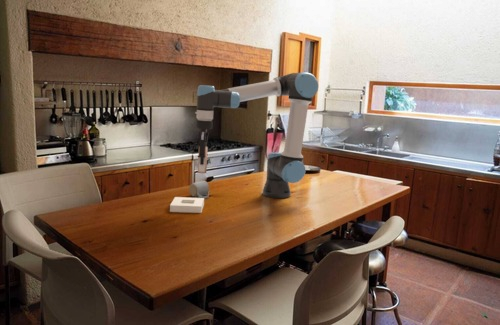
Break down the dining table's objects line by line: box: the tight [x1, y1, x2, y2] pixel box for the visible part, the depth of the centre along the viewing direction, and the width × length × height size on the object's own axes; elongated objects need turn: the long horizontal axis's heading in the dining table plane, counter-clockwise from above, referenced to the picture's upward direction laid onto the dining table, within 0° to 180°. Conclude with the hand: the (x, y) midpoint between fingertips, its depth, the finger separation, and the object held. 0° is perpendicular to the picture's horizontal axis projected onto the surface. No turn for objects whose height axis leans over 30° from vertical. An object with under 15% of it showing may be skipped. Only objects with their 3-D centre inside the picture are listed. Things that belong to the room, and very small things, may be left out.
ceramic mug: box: [188, 180, 210, 200], centre depth 211 cm, size 11×8×8 cm
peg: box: [197, 146, 208, 174], centre depth 189 cm, size 4×4×12 cm
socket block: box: [169, 196, 205, 214], centre depth 191 cm, size 14×14×3 cm
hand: (202, 170), depth 190 cm, fingers closed on peg, 4 cm apart
